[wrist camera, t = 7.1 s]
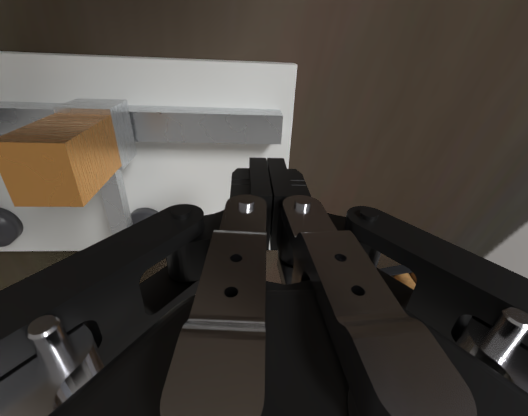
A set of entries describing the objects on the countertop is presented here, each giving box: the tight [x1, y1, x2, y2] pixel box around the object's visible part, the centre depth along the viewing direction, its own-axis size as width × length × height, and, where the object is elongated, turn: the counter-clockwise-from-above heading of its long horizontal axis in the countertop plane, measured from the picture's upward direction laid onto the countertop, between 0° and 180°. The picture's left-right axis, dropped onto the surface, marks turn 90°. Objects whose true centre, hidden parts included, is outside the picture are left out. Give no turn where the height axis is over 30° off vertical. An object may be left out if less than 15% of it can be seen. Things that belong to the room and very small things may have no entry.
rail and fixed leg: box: [0, 101, 283, 144], centre depth 19 cm, size 11×26×10 cm, turn 88°
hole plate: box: [0, 51, 297, 251], centre depth 24 cm, size 16×28×3 cm, turn 88°
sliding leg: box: [0, 98, 137, 235], centre depth 18 cm, size 11×3×8 cm, turn 178°
